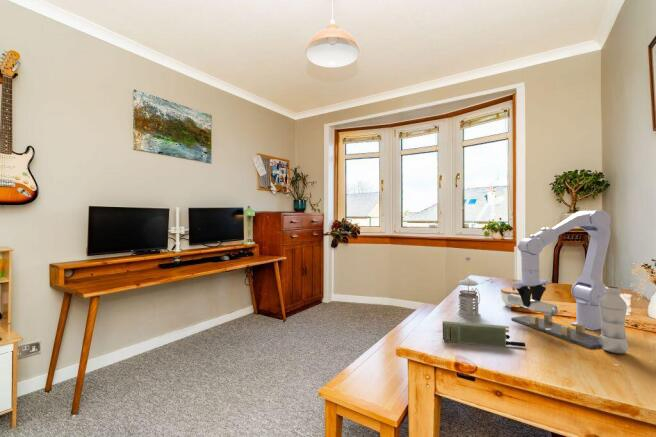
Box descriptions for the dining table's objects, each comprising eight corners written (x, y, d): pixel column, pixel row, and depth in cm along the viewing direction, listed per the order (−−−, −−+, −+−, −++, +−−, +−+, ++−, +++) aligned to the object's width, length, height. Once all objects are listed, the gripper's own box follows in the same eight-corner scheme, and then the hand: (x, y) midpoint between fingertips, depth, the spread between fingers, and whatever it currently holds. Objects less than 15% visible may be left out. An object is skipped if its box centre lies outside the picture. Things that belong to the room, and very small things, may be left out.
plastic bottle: (631, 358, 94) (630, 290, 94) (601, 353, 98) (600, 288, 98) (625, 350, 100) (624, 286, 100) (597, 345, 103) (596, 284, 103)
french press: (472, 310, 144) (471, 255, 144) (489, 318, 132) (488, 258, 132) (452, 311, 142) (451, 255, 142) (467, 320, 131) (466, 259, 131)
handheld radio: (442, 338, 112) (523, 346, 104) (443, 342, 109) (526, 350, 101) (442, 320, 112) (523, 326, 104) (442, 323, 109) (526, 330, 101)
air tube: (507, 303, 129) (507, 293, 129) (515, 303, 131) (515, 293, 131) (549, 316, 112) (549, 305, 112) (558, 315, 113) (558, 304, 113)
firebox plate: (530, 317, 133) (530, 307, 133) (612, 345, 104) (612, 332, 104) (511, 320, 130) (511, 310, 130) (590, 349, 101) (590, 336, 101)
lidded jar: (518, 303, 154) (517, 283, 154) (532, 309, 144) (532, 288, 144) (496, 303, 154) (495, 284, 154) (509, 310, 143) (509, 289, 143)
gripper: (535, 267, 127) (536, 301, 127) (506, 269, 123) (507, 304, 123) (552, 269, 120) (553, 305, 120) (522, 272, 116) (523, 309, 116)
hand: (531, 305), depth 121 cm, fingers closed on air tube, 4 cm apart
